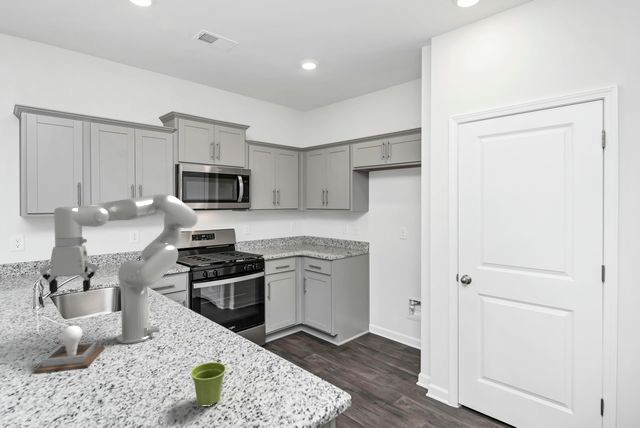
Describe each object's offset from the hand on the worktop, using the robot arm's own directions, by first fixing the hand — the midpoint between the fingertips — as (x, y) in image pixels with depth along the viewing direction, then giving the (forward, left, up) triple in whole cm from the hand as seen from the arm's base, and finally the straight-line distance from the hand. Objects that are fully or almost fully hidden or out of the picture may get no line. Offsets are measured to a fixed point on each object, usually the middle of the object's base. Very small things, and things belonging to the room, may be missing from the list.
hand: (70, 291), depth 116 cm
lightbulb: (0, 0, -23) cm, 23 cm away
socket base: (0, 0, -24) cm, 24 cm away
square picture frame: (0, 0, -24) cm, 24 cm away
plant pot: (-48, +37, -24) cm, 65 cm away
